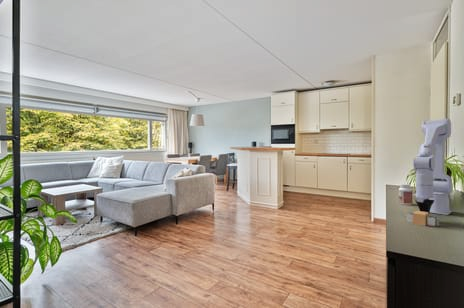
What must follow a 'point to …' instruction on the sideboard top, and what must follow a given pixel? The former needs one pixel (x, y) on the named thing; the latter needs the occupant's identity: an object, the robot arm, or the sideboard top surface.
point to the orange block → (420, 218)
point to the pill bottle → (405, 194)
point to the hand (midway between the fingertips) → (424, 216)
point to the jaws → (430, 220)
